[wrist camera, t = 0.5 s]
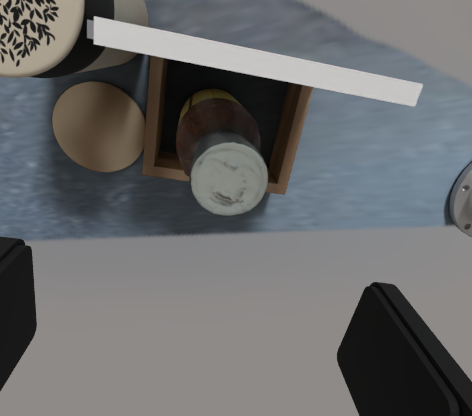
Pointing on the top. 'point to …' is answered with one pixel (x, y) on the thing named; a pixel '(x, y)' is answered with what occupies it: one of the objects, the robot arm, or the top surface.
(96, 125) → the disc
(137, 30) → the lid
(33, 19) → the stoneware storage canister
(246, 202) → the sauce bottle
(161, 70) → the wooden open box
